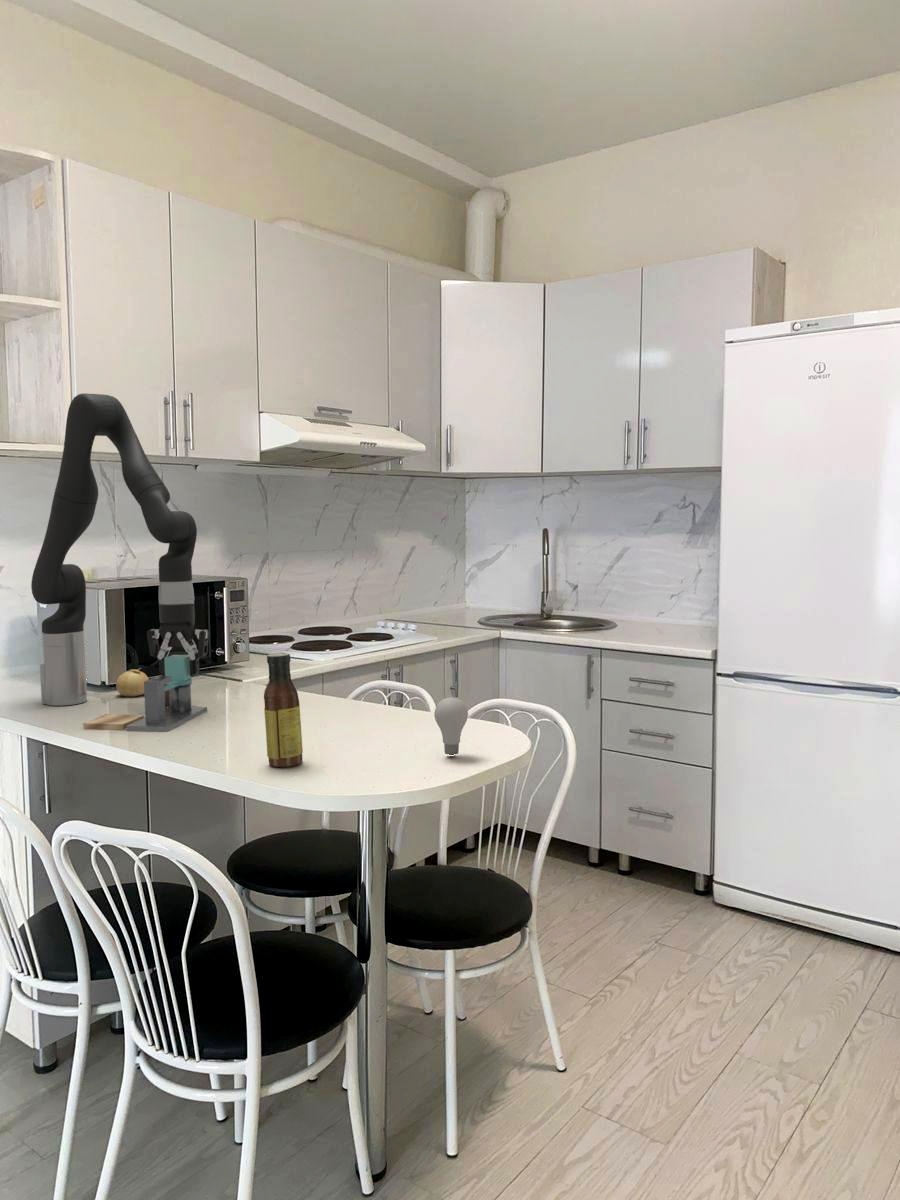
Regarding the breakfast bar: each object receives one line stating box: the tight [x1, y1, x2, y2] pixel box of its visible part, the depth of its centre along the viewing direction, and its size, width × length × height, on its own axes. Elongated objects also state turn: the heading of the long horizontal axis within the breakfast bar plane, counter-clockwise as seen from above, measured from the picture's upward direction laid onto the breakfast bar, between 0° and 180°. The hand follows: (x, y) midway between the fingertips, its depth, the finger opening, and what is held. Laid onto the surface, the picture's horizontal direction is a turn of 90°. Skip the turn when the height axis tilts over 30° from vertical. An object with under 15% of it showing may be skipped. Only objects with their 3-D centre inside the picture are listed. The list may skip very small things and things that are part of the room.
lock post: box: [126, 675, 208, 733], centre depth 199 cm, size 9×20×10 cm, turn 171°
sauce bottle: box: [263, 652, 304, 768], centre depth 162 cm, size 6×6×20 cm
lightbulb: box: [433, 697, 469, 755], centre depth 166 cm, size 6×6×11 cm
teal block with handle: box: [164, 654, 193, 692], centre depth 201 cm, size 5×12×6 cm, turn 171°
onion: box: [115, 667, 150, 698], centre depth 228 cm, size 8×8×7 cm
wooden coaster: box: [82, 713, 145, 731], centre depth 196 cm, size 9×9×1 cm
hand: (179, 675), depth 205 cm, fingers open, 6 cm apart
